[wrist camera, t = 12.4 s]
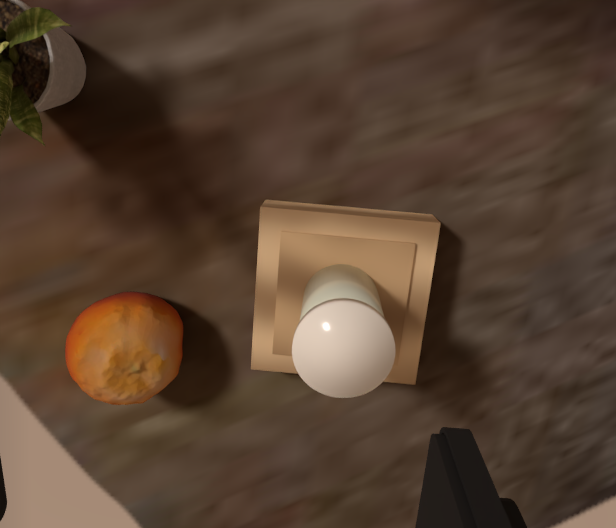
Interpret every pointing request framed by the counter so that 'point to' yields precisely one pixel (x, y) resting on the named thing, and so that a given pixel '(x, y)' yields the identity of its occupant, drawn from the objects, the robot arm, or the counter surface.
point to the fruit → (125, 348)
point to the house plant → (35, 65)
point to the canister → (342, 334)
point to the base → (341, 250)
